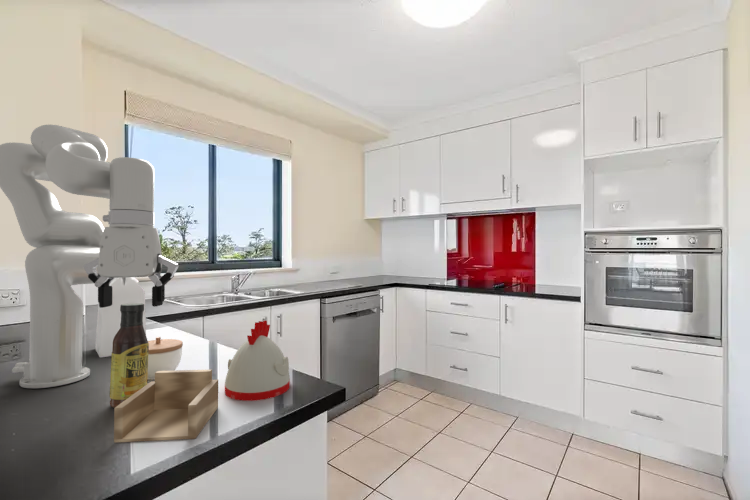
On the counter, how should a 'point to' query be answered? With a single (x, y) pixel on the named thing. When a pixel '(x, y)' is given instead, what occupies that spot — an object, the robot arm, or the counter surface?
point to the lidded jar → (163, 355)
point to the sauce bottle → (129, 355)
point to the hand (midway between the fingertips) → (131, 306)
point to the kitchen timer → (257, 368)
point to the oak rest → (168, 407)
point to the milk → (116, 312)
